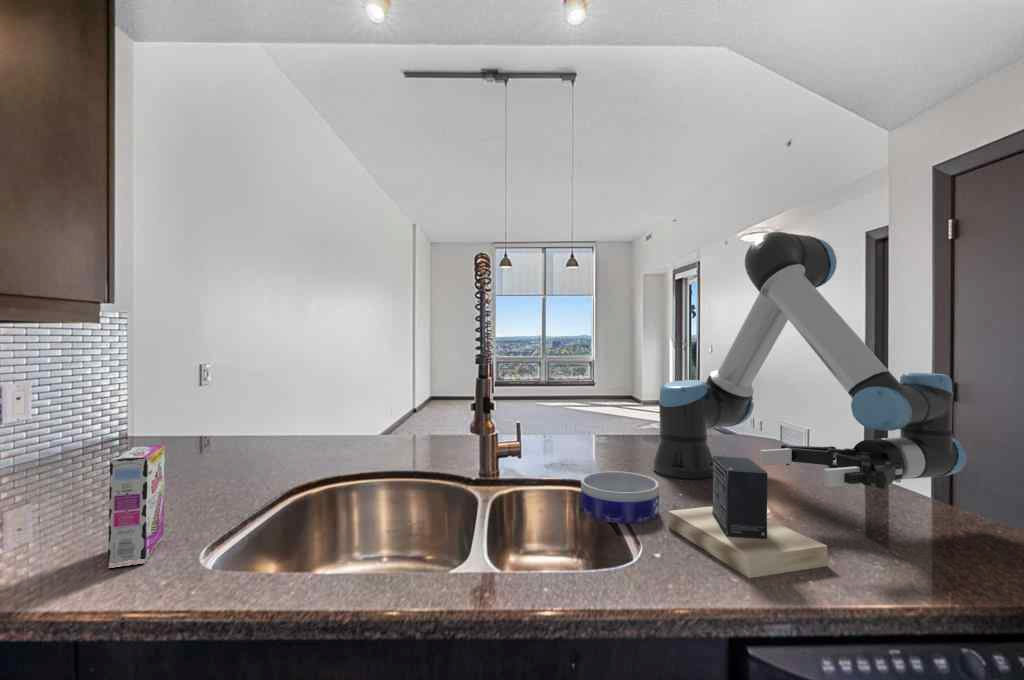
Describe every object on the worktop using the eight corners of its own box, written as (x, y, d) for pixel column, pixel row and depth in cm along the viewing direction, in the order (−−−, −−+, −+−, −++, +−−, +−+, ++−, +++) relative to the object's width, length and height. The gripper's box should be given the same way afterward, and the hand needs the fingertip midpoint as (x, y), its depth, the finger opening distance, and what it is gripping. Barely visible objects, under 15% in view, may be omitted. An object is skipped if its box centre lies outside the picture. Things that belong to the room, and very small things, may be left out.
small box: (770, 540, 75) (770, 472, 75) (725, 537, 77) (725, 470, 77) (750, 516, 86) (750, 456, 86) (711, 514, 87) (710, 455, 87)
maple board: (668, 527, 89) (668, 511, 89) (733, 519, 92) (733, 503, 92) (749, 578, 69) (749, 557, 69) (827, 566, 73) (827, 545, 73)
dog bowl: (657, 529, 89) (657, 495, 89) (574, 519, 93) (574, 488, 94) (660, 503, 103) (660, 474, 103) (588, 496, 108) (588, 468, 108)
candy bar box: (147, 564, 75) (147, 457, 75) (106, 570, 73) (107, 460, 73) (166, 538, 85) (166, 443, 85) (130, 543, 83) (131, 446, 83)
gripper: (964, 502, 78) (859, 514, 72) (826, 463, 102) (739, 470, 96) (964, 454, 77) (859, 463, 72) (826, 427, 102) (739, 432, 96)
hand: (790, 467), depth 84 cm, fingers open, 13 cm apart
